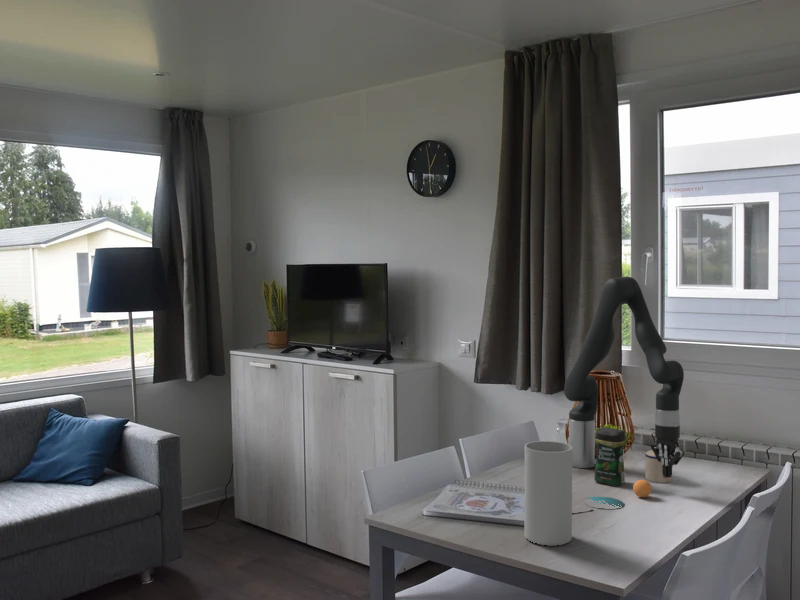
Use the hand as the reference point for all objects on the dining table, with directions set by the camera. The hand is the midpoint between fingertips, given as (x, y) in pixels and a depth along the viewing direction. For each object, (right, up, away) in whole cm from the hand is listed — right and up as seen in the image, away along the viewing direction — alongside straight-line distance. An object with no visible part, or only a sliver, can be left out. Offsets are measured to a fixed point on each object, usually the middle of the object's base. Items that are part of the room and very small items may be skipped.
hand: (667, 476), depth 238 cm
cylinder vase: (-46, -8, -39) cm, 61 cm away
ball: (-9, -3, -3) cm, 10 cm away
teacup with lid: (+4, -5, +17) cm, 18 cm away
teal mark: (-23, -6, -9) cm, 26 cm away
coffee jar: (-15, -5, +13) cm, 20 cm away
